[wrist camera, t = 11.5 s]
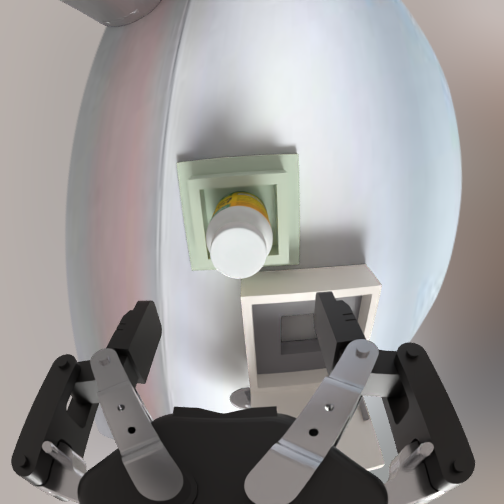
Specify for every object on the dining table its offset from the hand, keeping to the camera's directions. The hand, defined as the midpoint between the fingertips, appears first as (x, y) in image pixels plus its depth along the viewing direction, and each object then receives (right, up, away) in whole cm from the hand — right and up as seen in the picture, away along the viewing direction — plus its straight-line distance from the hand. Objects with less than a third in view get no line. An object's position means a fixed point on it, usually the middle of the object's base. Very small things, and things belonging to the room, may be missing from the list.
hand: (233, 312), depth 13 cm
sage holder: (0, +7, +16) cm, 17 cm away
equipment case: (+8, -6, +22) cm, 24 cm away
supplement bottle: (0, +7, +15) cm, 16 cm away
